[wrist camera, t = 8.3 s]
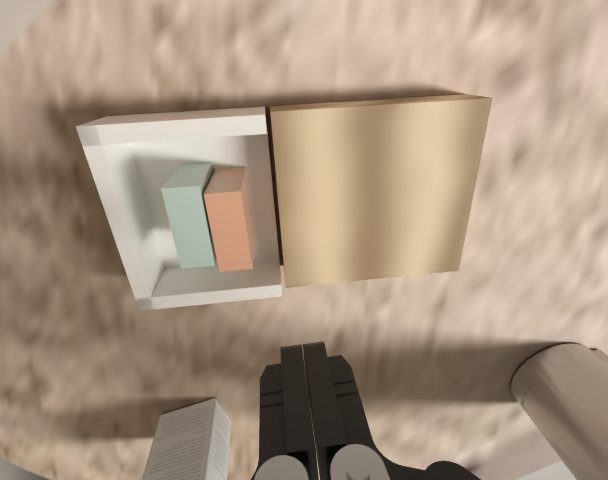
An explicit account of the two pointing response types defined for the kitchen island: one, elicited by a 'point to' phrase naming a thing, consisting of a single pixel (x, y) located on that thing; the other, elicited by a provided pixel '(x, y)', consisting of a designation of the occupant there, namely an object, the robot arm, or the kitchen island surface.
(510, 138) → the kitchen island surface
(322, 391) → the robot arm
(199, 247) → the sage tile
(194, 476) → the skincare box
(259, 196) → the box
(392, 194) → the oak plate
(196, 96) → the kitchen island surface
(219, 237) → the terracotta tile
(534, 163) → the kitchen island surface
